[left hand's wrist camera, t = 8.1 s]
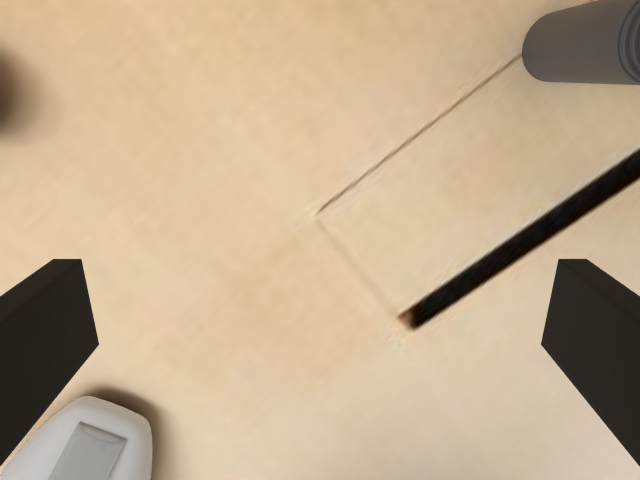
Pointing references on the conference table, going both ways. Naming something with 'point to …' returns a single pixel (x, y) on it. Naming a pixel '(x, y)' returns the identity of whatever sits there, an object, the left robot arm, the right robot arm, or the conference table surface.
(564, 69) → the bottle
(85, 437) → the projector
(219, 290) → the conference table surface
